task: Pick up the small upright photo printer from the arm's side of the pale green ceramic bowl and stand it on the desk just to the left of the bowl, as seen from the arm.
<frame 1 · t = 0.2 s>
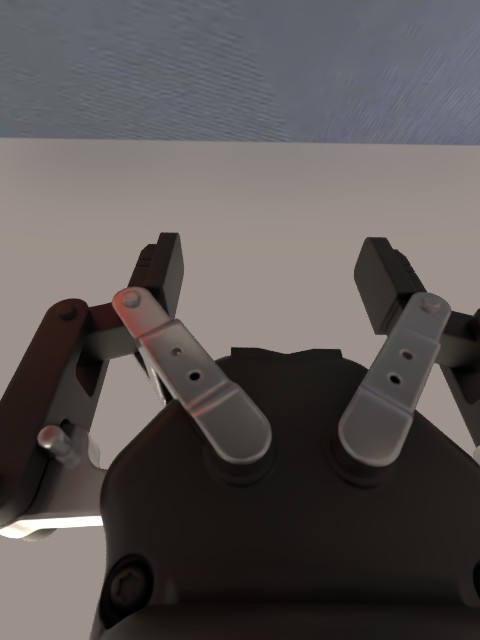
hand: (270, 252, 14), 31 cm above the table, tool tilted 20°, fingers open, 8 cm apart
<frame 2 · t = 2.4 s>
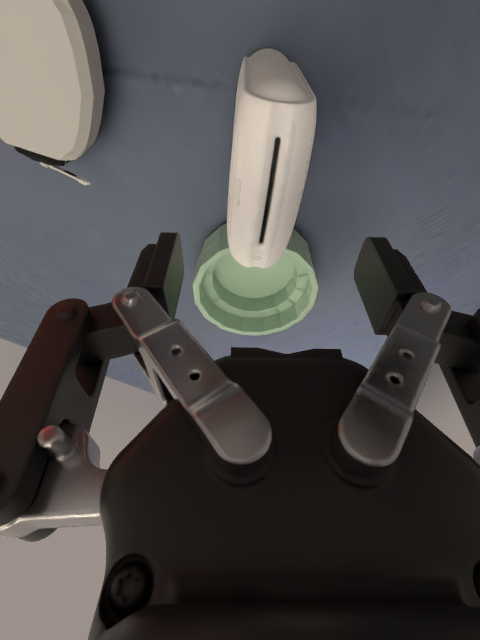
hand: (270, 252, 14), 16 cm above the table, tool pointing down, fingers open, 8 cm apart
bowl: (254, 265, 34), on the table
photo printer: (259, 132, 25), on the table
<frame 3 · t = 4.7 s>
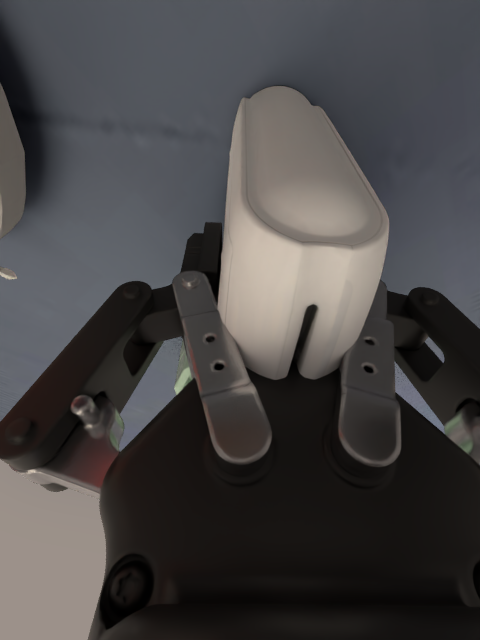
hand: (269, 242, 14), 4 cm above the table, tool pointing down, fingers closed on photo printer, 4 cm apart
bowl: (255, 344, 27), on the table
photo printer: (264, 197, 17), on the table, touching gripper
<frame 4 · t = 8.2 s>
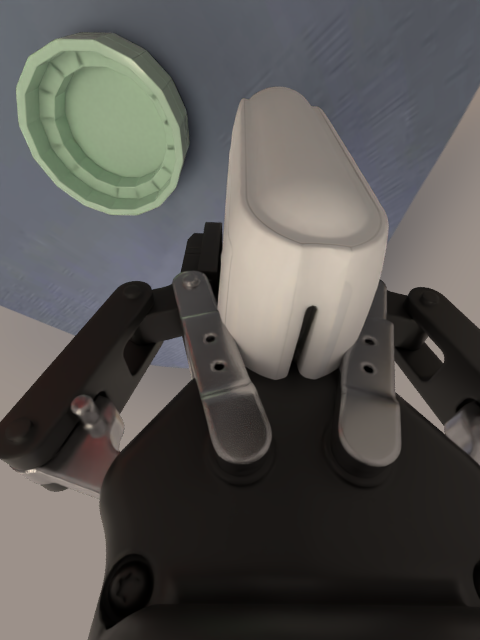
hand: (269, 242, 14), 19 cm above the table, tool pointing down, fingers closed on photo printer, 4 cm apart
bowl: (121, 124, 28), on the table
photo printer: (264, 197, 17), point 15 cm above the table, touching gripper
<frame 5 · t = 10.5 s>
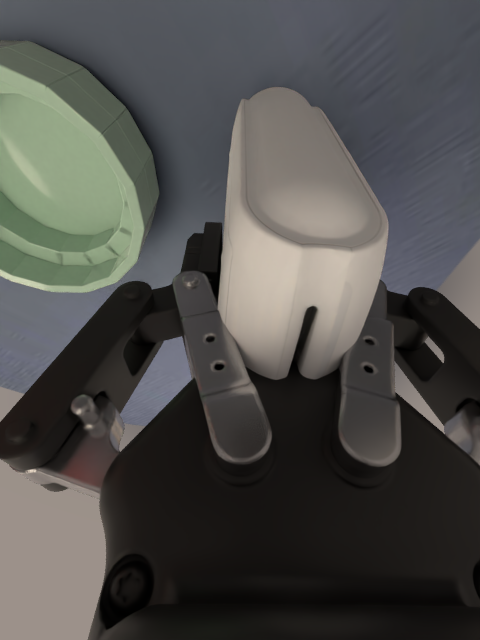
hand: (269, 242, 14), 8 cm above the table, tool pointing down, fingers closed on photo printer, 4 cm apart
bowl: (61, 168, 20), on the table
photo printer: (264, 197, 17), point 4 cm above the table, touching gripper
when the fingers open (4 cm above the table, at t = 11.9 s): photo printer stays where it is, on the table.
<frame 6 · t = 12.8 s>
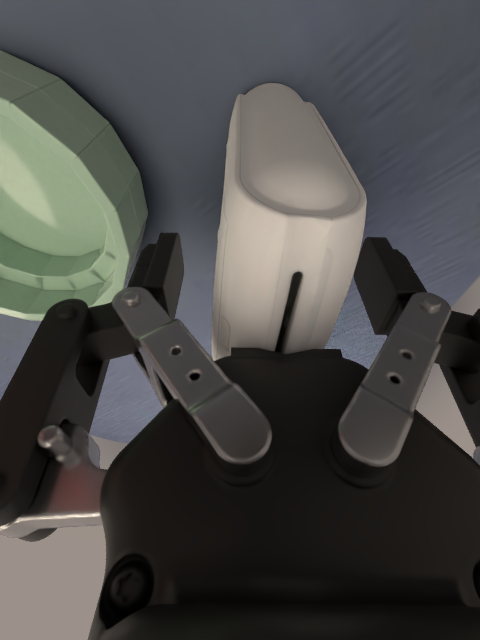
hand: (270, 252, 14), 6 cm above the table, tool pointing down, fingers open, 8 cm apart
bowl: (40, 186, 18), on the table
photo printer: (260, 189, 18), on the table
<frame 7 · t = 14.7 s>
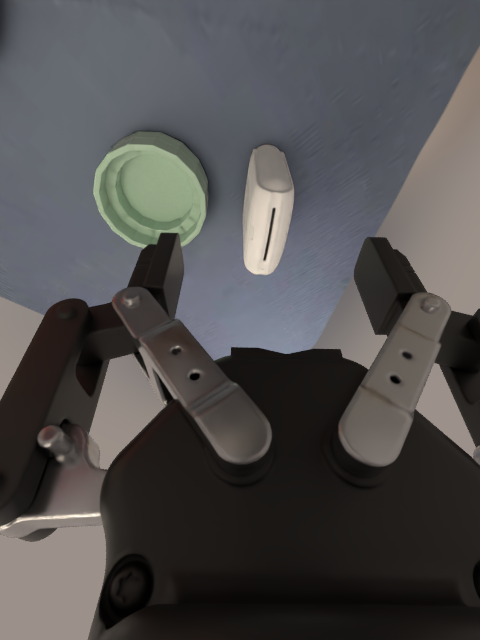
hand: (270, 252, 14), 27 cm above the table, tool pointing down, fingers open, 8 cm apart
bowl: (159, 186, 38), on the table
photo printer: (261, 188, 39), on the table
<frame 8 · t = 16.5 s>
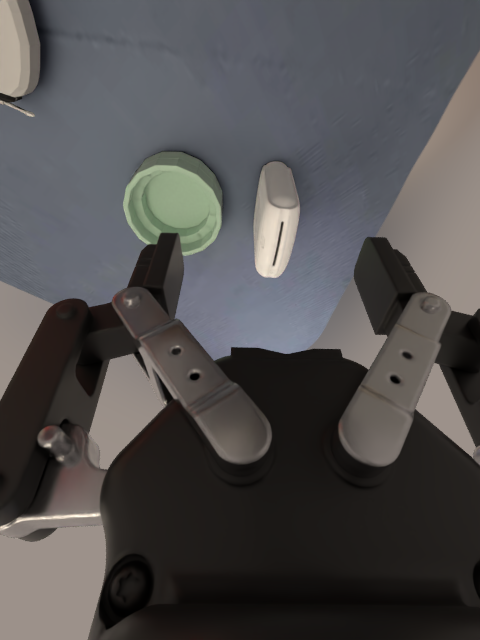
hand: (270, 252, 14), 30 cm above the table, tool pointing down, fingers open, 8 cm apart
bowl: (178, 197, 43), on the table
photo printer: (270, 198, 43), on the table
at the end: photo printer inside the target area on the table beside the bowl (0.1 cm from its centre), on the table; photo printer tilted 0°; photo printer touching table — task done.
